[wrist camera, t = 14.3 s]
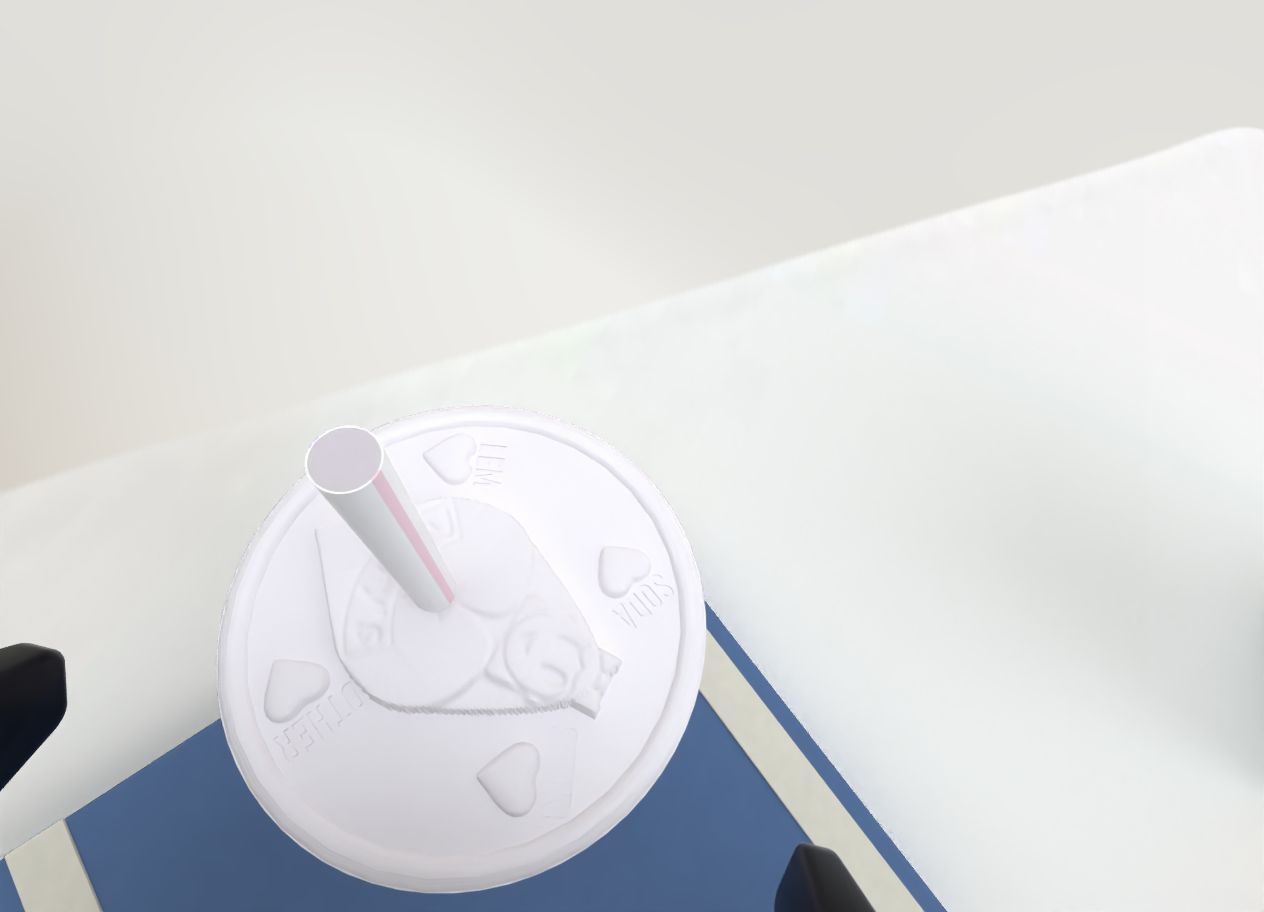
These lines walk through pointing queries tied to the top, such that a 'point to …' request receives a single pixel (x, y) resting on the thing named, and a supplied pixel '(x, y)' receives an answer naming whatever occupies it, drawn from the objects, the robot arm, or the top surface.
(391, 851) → the smoothie
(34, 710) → the robot arm
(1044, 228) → the top surface
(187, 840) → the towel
